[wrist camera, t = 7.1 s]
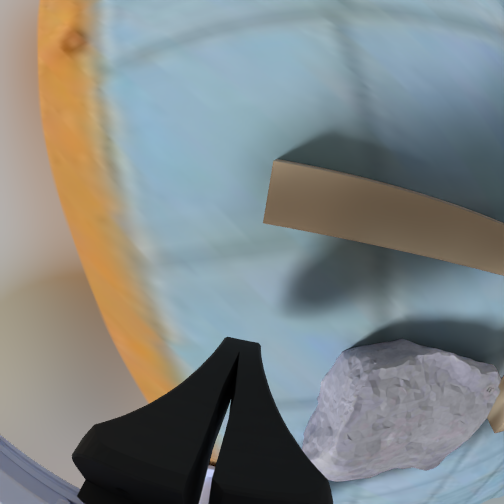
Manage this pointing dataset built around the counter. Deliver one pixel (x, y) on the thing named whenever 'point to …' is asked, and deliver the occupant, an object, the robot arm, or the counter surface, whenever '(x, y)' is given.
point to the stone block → (396, 409)
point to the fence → (385, 222)
